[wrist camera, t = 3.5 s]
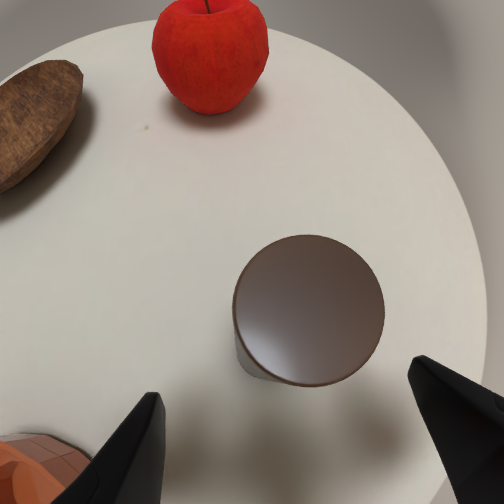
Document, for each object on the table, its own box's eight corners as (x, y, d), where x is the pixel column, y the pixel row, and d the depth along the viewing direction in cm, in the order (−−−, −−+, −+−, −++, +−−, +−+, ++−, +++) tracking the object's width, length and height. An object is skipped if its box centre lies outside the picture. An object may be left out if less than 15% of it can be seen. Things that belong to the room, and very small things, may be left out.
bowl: (64, 72, 31) (54, 46, 26) (129, 134, 25) (115, 95, 21) (-38, 157, 25) (-55, 136, 20) (-20, 266, 19) (-52, 244, 15)
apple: (247, 70, 30) (251, -24, 19) (279, 123, 26) (297, 6, 15) (159, 88, 28) (141, -9, 17) (173, 147, 25) (146, 23, 13)
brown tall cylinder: (304, 355, 18) (411, 316, 6) (259, 389, 18) (299, 420, 6) (270, 312, 20) (320, 208, 8) (225, 345, 19) (200, 289, 7)
